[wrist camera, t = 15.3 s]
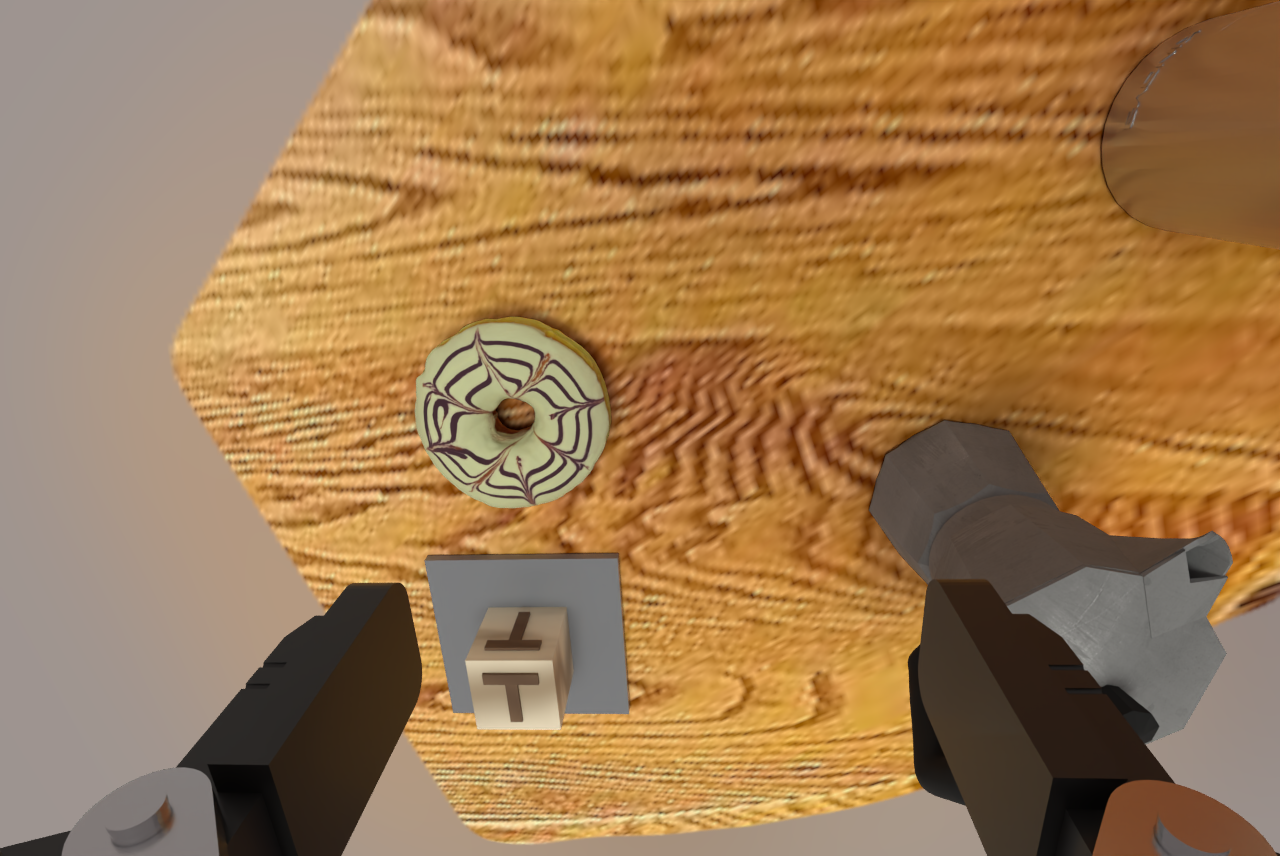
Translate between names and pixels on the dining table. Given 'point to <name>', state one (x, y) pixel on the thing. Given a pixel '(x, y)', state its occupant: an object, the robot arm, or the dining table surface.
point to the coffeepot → (1052, 578)
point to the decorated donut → (519, 369)
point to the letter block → (521, 668)
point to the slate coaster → (537, 582)
